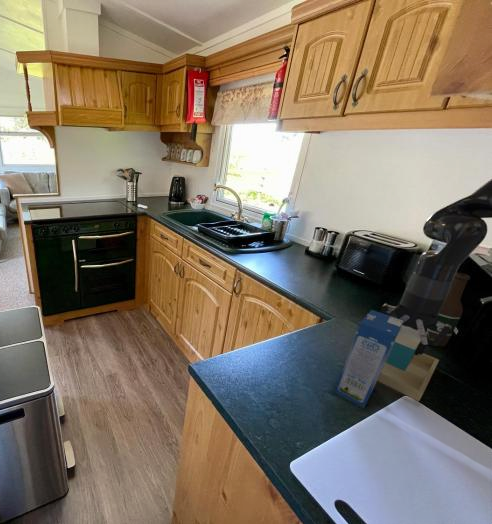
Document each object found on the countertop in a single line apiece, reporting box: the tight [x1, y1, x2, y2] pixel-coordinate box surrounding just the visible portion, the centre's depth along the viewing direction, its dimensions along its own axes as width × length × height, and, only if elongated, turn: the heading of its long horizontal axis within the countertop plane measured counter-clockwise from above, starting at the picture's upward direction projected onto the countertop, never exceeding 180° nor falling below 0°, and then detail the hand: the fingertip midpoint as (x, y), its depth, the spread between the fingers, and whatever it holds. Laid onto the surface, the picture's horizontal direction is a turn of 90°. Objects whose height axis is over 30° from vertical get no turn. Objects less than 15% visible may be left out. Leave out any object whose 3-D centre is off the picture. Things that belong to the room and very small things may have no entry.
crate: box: [377, 352, 440, 402], centre depth 81 cm, size 16×22×3 cm
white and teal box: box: [385, 325, 421, 371], centre depth 78 cm, size 6×12×8 cm, turn 128°
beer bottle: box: [428, 272, 471, 348], centre depth 92 cm, size 8×8×24 cm
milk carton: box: [333, 309, 404, 409], centre depth 69 cm, size 10×6×20 cm, turn 131°
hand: (401, 347), depth 79 cm, fingers closed on white and teal box, 6 cm apart
